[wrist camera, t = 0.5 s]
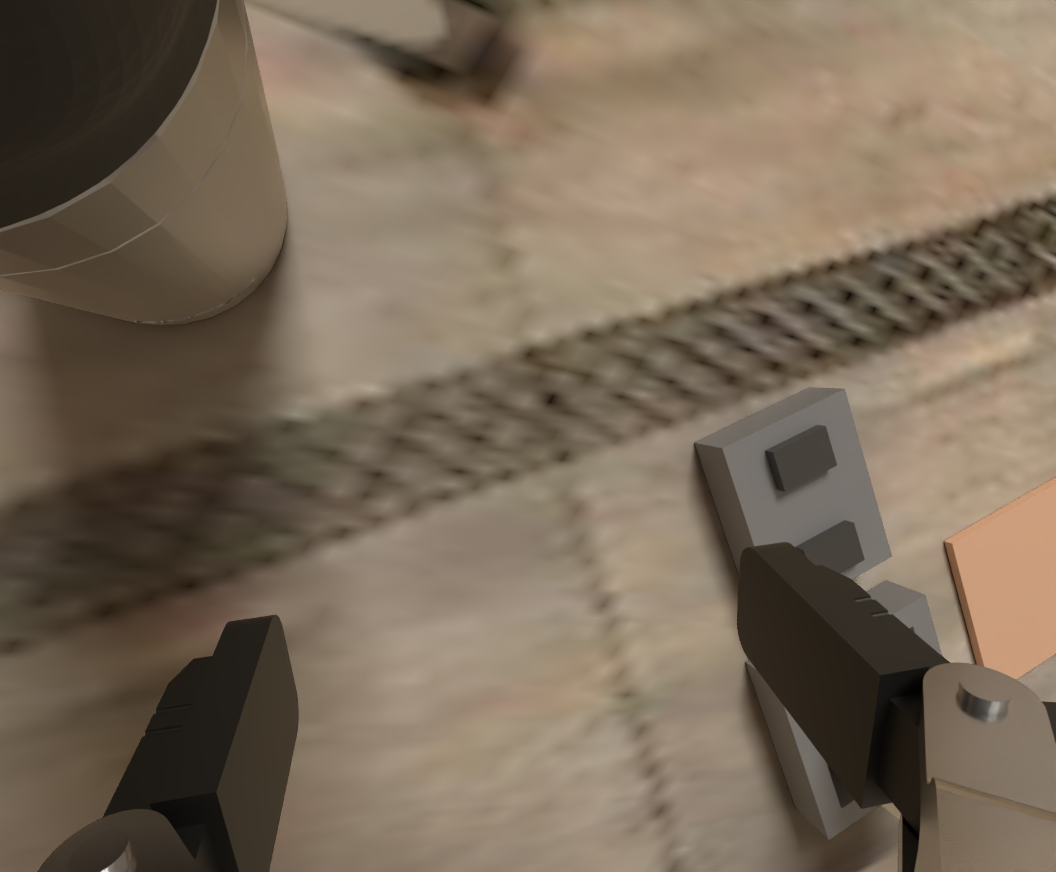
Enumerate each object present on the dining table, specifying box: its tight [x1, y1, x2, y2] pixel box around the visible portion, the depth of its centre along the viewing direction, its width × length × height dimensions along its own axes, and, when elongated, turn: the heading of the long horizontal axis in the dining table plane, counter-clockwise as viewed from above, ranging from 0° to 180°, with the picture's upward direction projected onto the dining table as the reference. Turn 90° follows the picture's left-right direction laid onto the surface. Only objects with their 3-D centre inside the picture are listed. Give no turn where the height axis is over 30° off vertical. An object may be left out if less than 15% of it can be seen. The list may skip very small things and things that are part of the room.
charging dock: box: [694, 388, 942, 840], centre depth 34 cm, size 21×9×3 cm, turn 22°
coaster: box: [944, 477, 1056, 680], centre depth 39 cm, size 10×10×1 cm
